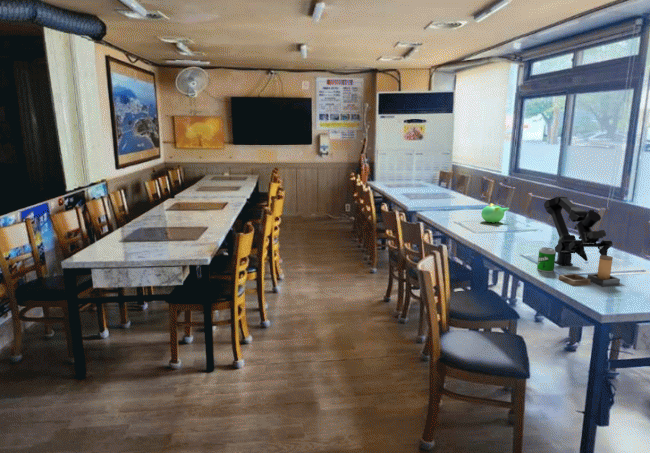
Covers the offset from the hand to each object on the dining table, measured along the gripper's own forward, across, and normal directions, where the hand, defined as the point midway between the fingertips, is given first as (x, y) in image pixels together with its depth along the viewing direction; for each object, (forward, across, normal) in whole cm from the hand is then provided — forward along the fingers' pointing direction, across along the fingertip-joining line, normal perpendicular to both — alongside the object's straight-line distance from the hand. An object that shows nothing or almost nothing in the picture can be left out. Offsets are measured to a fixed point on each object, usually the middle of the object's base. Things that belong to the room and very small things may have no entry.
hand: (596, 260), depth 210 cm
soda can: (-1, -18, +15) cm, 23 cm away
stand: (+11, -13, +2) cm, 17 cm away
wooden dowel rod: (+10, 0, +1) cm, 10 cm away
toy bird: (-90, +7, +106) cm, 139 cm away
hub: (+11, 0, +2) cm, 11 cm away
